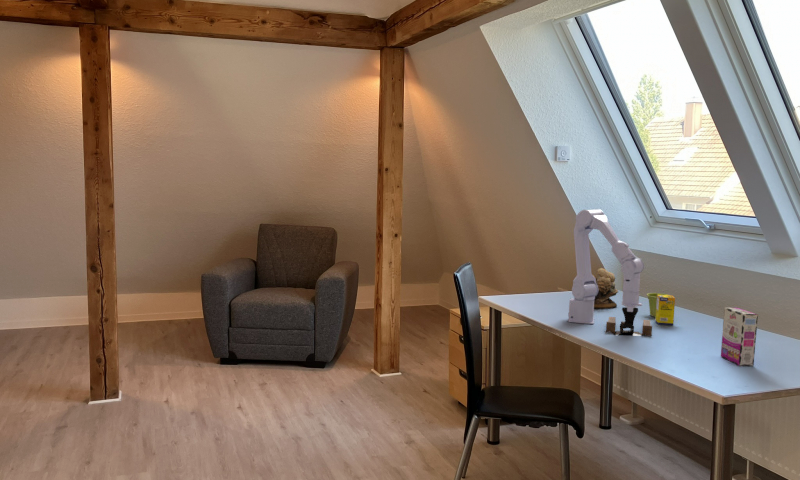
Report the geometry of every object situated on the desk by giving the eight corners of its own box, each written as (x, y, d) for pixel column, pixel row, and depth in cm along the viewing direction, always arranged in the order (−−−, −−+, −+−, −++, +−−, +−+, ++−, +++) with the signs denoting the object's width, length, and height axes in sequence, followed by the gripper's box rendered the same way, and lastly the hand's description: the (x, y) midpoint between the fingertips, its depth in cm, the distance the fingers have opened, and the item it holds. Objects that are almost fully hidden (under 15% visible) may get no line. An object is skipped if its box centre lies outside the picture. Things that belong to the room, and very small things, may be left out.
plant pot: (666, 319, 277) (667, 298, 276) (642, 316, 283) (643, 295, 282) (672, 315, 285) (674, 295, 284) (649, 312, 290) (651, 292, 289)
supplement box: (673, 325, 266) (675, 297, 265) (657, 324, 268) (659, 296, 266) (670, 322, 272) (672, 295, 271) (654, 321, 273) (656, 294, 272)
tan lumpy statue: (608, 303, 309) (611, 265, 307) (624, 308, 298) (627, 269, 296) (573, 304, 304) (575, 266, 302) (588, 310, 293) (590, 270, 291)
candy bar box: (754, 366, 213) (759, 314, 211) (739, 366, 213) (743, 314, 211) (734, 356, 224) (738, 306, 222) (719, 356, 224) (723, 306, 222)
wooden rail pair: (606, 331, 254) (606, 322, 254) (607, 323, 267) (608, 314, 267) (651, 336, 249) (652, 326, 249) (650, 327, 262) (651, 318, 262)
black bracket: (639, 333, 256) (640, 320, 255) (647, 337, 248) (648, 325, 248) (606, 332, 256) (607, 319, 255) (612, 336, 248) (613, 324, 248)
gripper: (642, 295, 245) (640, 332, 247) (642, 288, 259) (640, 324, 260) (622, 293, 247) (619, 330, 249) (622, 287, 261) (620, 322, 263)
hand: (629, 327), depth 255 cm, fingers closed
